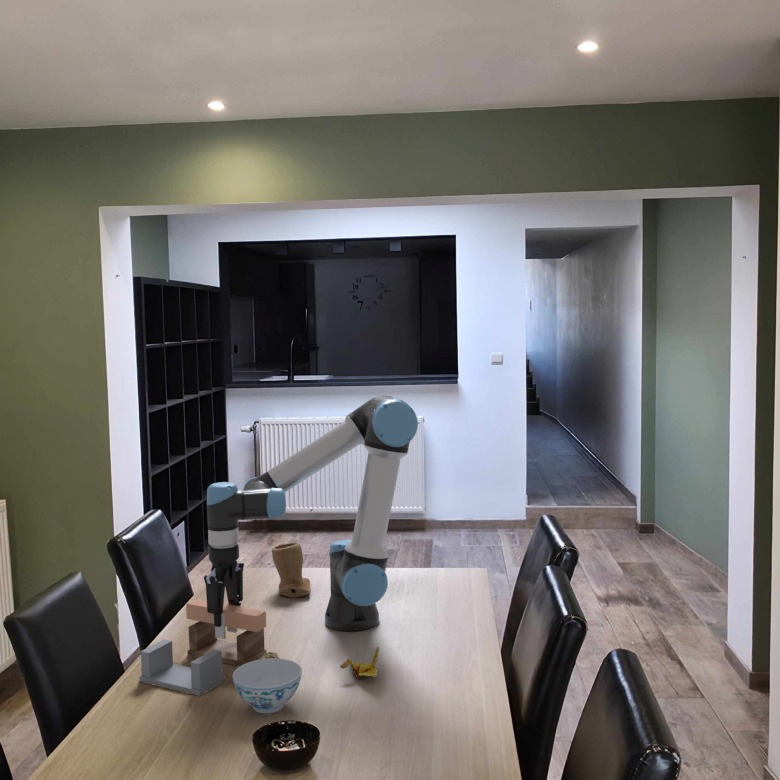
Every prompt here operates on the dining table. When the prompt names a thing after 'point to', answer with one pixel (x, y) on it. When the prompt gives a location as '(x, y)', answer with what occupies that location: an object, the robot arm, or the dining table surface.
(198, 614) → the salmon pink square bar
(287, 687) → the chinaware
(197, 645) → the bronze cradle base
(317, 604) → the dining table surface
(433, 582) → the dining table surface
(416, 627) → the dining table surface
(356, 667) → the origami crane
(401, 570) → the dining table surface
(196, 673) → the stand
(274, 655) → the mineral rock
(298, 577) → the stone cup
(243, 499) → the robot arm
